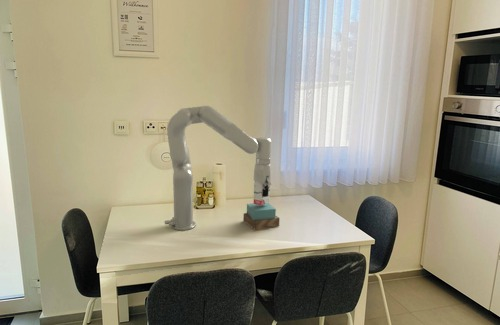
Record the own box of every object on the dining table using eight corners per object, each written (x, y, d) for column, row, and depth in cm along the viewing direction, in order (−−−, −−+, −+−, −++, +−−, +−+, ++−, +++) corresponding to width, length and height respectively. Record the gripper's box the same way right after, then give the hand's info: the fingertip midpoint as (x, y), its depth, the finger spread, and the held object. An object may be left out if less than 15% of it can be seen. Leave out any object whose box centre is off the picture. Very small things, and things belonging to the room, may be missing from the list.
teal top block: (253, 220, 190) (253, 210, 189) (246, 212, 201) (246, 203, 201) (275, 218, 194) (275, 209, 193) (267, 211, 205) (267, 202, 204)
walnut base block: (256, 231, 189) (256, 221, 188) (243, 222, 201) (243, 213, 200) (279, 226, 196) (279, 217, 195) (265, 218, 208) (265, 210, 207)
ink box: (260, 205, 192) (261, 183, 190) (252, 203, 195) (253, 182, 193) (269, 202, 199) (270, 180, 197) (262, 200, 202) (263, 179, 200)
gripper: (248, 159, 198) (247, 191, 202) (265, 165, 183) (264, 199, 187) (260, 158, 202) (259, 190, 205) (278, 164, 187) (276, 198, 190)
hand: (261, 194), depth 196 cm, fingers closed on ink box, 6 cm apart
